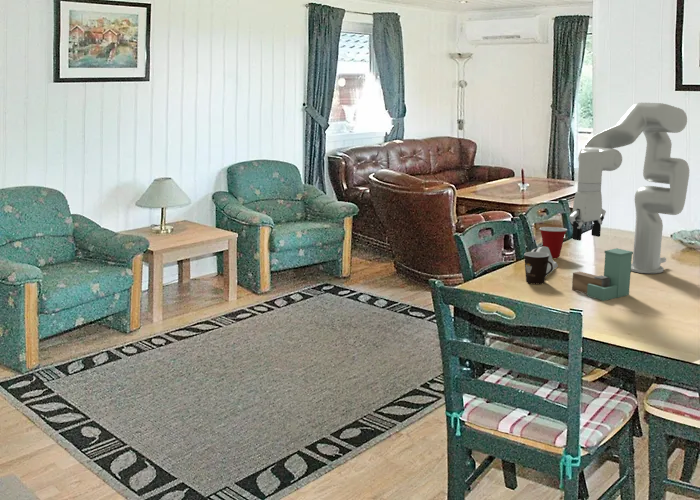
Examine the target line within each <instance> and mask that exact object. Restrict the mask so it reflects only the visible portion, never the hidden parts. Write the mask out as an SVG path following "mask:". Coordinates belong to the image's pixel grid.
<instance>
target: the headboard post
mask: <svg viewBox="0 0 700 500" xmlns="http://www.w3.org/2000/svg"><path fill="white" fill-rule="evenodd" d="M604 254H605V255H604V267H603V269H604V270H603V276H606V277H609V279H610V285H609V287H601V286H597V285H594V284H588V286H587V293H586V296H587V297H591V298H594V299H598V300H600V301H603V302H605V301H608V300H612V299H617V298H621V297H626V296H629V295H630V285H631V273H632V271H631V264H632V262H633V251H631V250H627V249H622V248H617V247H616V248H612V249H607V250H604Z"/></svg>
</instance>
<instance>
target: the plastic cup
mask: <svg viewBox="0 0 700 500" xmlns="http://www.w3.org/2000/svg"><path fill="white" fill-rule="evenodd" d="M539 231H540V236H541V243H542V247H544V246H545V247H548V248H549V250H550V253H551V256H552V258H556V259H559V258H560V256H561V251H562V248H563V243H564V239H565V236H566V233H567V231H568V229H567V228H564V227H558V226H557V227H553V226H552V227H550V226H543V227H539ZM558 257H559V258H558Z"/></svg>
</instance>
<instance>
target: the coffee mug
mask: <svg viewBox="0 0 700 500" xmlns="http://www.w3.org/2000/svg"><path fill="white" fill-rule="evenodd" d="M523 256H524V257H523V258H524V270H525V271H524V272H525V281H526V283H527V282H528V284H530V283H532V285H541V284H542V283H543V284H545V283H546V277H547V276H546V275H548V274H549V273H550V272H551V271H552V270H553V265H552V263H551V262H550V261H548V259H549V254H547V253H543V252H531V251H528V252H527V251H526V252H525V253H524V254H523ZM548 263H549V264H550V265H551V270H550V271H549V272H548V273H546V271H547V265H548ZM551 273H552V272H551ZM551 273H550V274H551ZM550 274H549V275H550ZM549 275H548V276H549Z"/></svg>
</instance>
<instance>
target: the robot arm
mask: <svg viewBox="0 0 700 500" xmlns="http://www.w3.org/2000/svg"><path fill="white" fill-rule="evenodd" d="M687 123H688V116H687V113H686V112H685V110H684V109H683V108H680V107H677V106H674V105H671V104H667V103H663V102H662V103H661V102H636V103H634V104H633V105H631V107H629V108H628V110H627V111H626V112H625V113H624V115H623V116H622V117H621V118H620V119H619V120H618V122H617V123H616V124H615V125H614V126H611V127H609V128H607V129H603V131H601V132H597V134H595V135H593V136H591V138H589V139H588V140H587V141H586V142H585V144H584V145H583V146H582V147H581V149H580V152H579V153H578V156H577V157H578V159H577V161H578V169H577V170H578V172H577V173H578V174H577V189H576V190H577V191H576V192H575V195H574V198H573V206H572V211H571V214H570V215H569V216H568V219H569V222H570V225H571V228H572V240H575V241H582V234H583V233H582V232H583V231H582V230H583V229H582V228H581V227H582V226H583V224H584V223H589V222H592V224H591V236H593V237H597V238H598V237H601V230H602V229H601V227H602V225H603V221H604V219H605V215H606V213H607V212H606V210H605V209H603V197H602V180H603V179H602V178H603V177H602V176H603V171H605V172H606V171H607V172H612V171H615V170H618V169H619V168H620V167H621V165H622V163H623V156H622V153H621V152H620V151H619V150H618V149H619V148H622V147H625V146H630V145H632V144H633V143H635V142H636V140H637V139H638V138H639V137H640V135H641V134H642V133H643V134H644V136H645V140H646V141H645V142H646V147H645V148H646V149H645V156H644V161H643V162H644V164H643V169H642V171H643V172H642V175H643V179H644V180H645V181H647V182H649V183H655V184H656V183H657V184H665V185H669V187H663V186H653V185H643V186H641V187H639V188H637V190H636V191H635V194H634V208H635V209H634V210H635V226H634V241H633V251H632V252H633V254H632V263H631V272H635V273H638V274H639V273H640V274H649V275H653V274H654V275H655V274H661V273H663V272H664V271H665V270H664V267H663V266H661V264H662V263H666V262H667V258H666V257H665V256H664V257H661V253H662V252H661V251H662V239H663V238H662V237H663V229H664V225H663V220H662V218H661V216H660V214H662V215H663V214H664V215H670V216H678V215H679V214H681V213H682V212H683V210H684V207H685V204H686V198H687V191H688V186H689V179H690V166H689V163H688V162H687V161H686V160H684V159H683V158H679V157H671V153H672V144H673V142H672V140H671V138H670V135H669V134H668V133H672V134H673V133H674V134H677V133H681V132H682V131H684V129H685V128H686V127H687Z"/></svg>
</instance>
